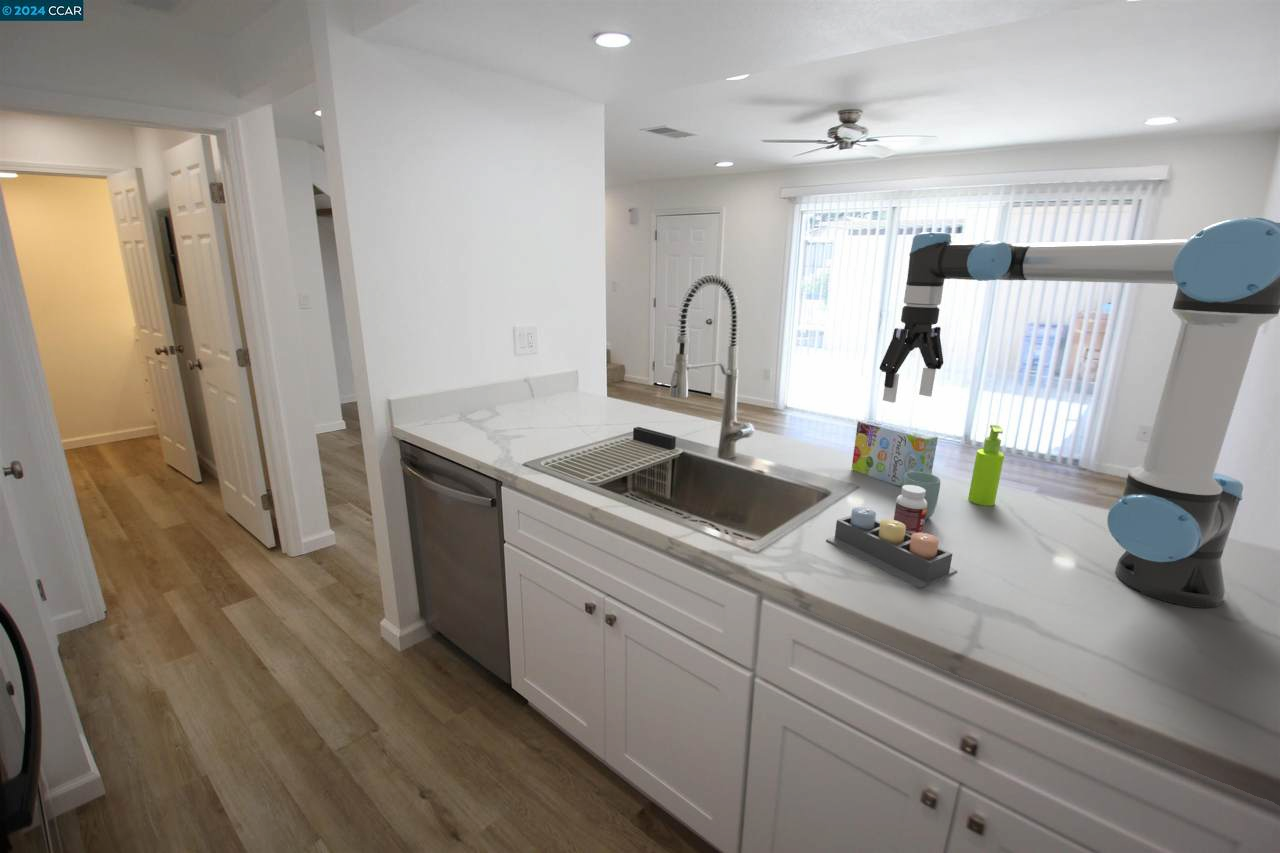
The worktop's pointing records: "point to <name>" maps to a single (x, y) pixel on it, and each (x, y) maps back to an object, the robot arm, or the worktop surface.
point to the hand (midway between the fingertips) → (907, 398)
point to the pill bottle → (911, 508)
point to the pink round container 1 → (924, 545)
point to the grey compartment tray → (891, 554)
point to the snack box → (892, 451)
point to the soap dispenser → (987, 470)
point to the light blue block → (863, 518)
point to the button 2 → (892, 531)
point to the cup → (929, 484)
